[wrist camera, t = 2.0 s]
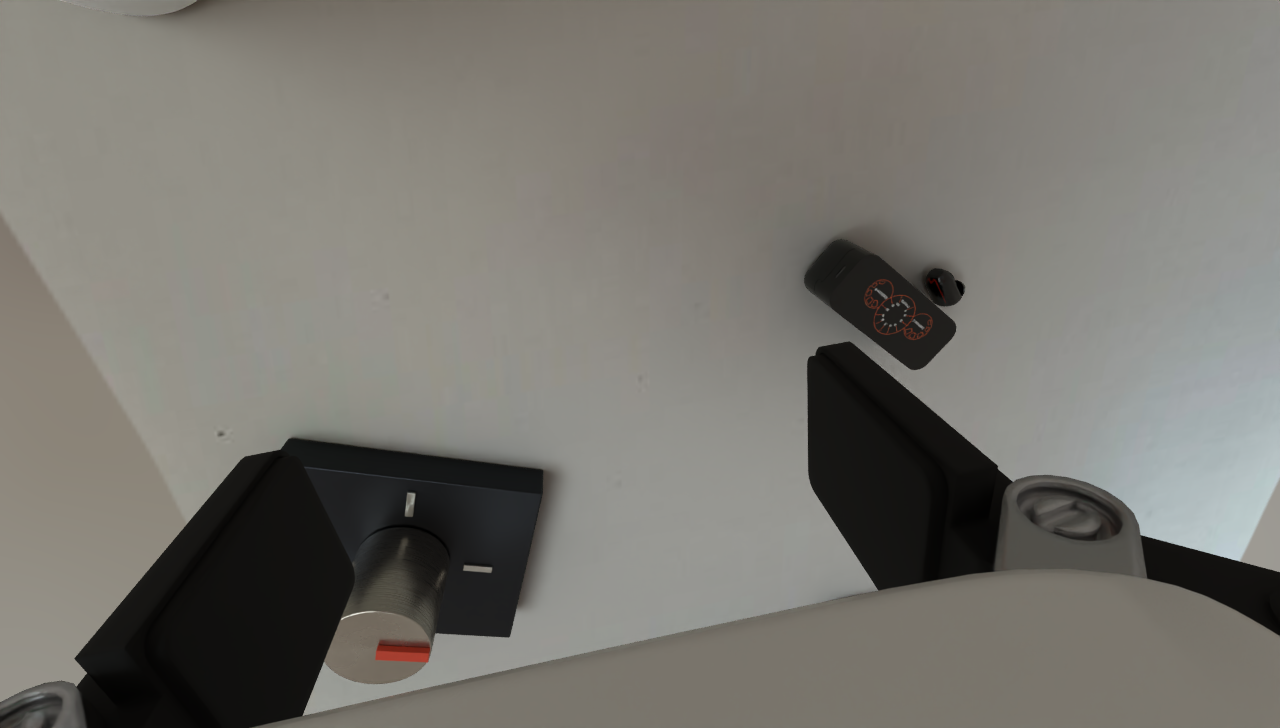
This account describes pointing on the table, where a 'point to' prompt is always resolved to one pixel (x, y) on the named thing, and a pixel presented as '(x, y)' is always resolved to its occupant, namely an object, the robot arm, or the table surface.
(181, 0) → the water bottle
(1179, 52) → the table surface
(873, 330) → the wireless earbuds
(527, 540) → the panel
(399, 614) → the dial
